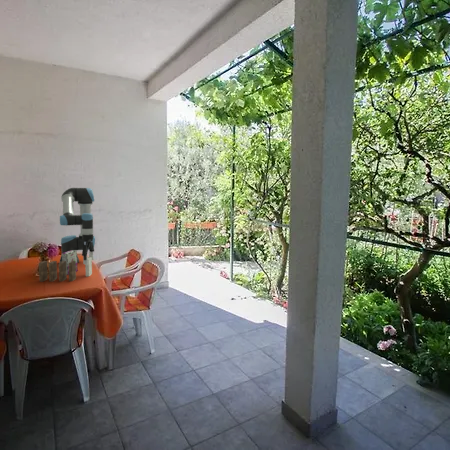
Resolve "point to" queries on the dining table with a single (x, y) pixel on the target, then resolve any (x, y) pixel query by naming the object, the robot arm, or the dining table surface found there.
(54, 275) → the tile
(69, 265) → the tile
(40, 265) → the tile
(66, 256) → the candy bar box
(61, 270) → the grey brown jagged slab
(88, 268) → the tile
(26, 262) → the dining table surface
